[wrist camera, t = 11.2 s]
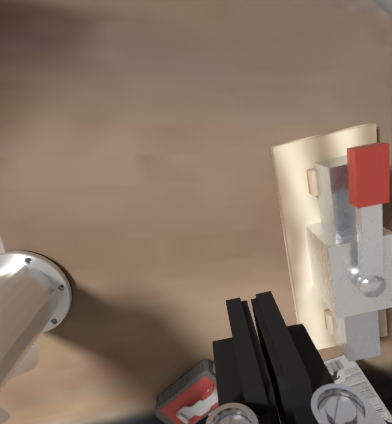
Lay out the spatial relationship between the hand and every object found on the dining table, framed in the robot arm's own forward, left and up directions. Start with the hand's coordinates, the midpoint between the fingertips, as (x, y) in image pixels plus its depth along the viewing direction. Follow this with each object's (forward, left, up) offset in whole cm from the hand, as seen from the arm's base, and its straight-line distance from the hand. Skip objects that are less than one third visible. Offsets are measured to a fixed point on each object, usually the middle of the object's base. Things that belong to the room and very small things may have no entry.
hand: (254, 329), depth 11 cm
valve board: (+14, -13, -29) cm, 35 cm away
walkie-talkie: (-6, -32, -30) cm, 44 cm away
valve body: (+14, -13, -28) cm, 34 cm away
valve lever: (+14, -6, -20) cm, 26 cm away
